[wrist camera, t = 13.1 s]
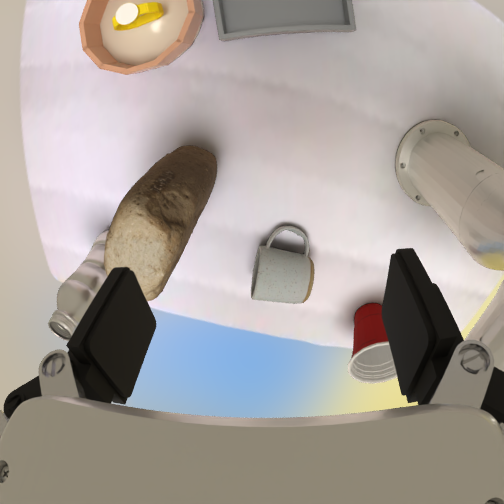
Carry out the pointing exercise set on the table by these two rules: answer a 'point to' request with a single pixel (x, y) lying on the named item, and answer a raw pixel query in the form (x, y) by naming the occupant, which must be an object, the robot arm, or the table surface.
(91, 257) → the plastic bottle
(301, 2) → the parts tray
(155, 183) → the stone
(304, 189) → the table surface
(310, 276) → the ceramic mug
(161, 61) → the bowl
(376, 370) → the plastic cup
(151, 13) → the watch
